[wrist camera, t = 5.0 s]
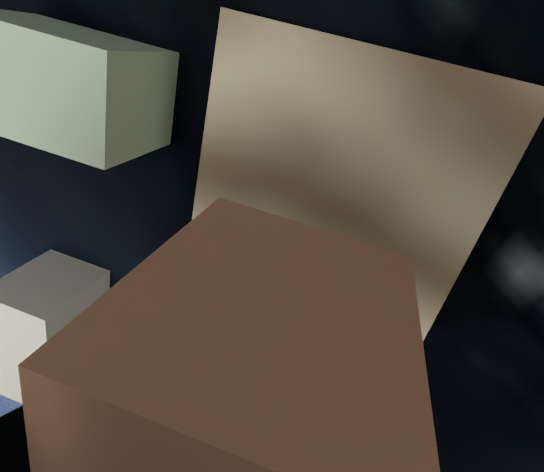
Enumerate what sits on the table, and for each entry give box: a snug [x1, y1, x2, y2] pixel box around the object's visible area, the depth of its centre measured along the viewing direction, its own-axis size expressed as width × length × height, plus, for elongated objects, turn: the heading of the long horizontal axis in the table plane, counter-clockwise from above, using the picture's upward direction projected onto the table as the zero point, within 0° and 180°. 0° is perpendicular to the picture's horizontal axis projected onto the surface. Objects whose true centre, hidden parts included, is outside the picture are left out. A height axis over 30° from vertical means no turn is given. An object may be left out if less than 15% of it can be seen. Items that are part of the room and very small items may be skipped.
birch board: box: [192, 7, 544, 341], centre depth 17 cm, size 14×12×1 cm
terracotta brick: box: [18, 197, 440, 472], centre depth 7 cm, size 7×4×5 cm, turn 167°
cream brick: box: [0, 250, 110, 404], centre depth 22 cm, size 7×4×5 cm, turn 167°
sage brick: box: [0, 9, 179, 170], centre depth 16 cm, size 7×4×5 cm, turn 77°
